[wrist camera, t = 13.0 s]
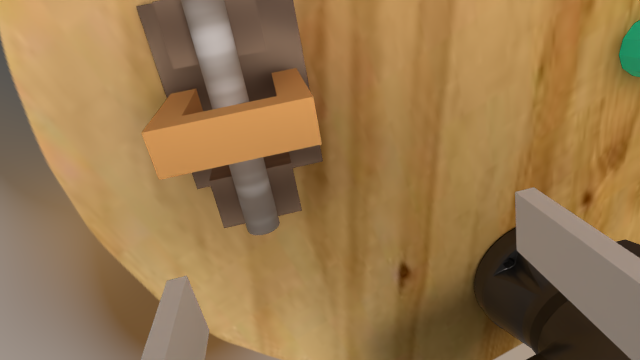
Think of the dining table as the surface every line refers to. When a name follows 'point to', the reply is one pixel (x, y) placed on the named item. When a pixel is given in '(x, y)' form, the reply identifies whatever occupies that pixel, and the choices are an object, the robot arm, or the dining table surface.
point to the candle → (631, 51)
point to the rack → (233, 90)
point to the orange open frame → (231, 128)
